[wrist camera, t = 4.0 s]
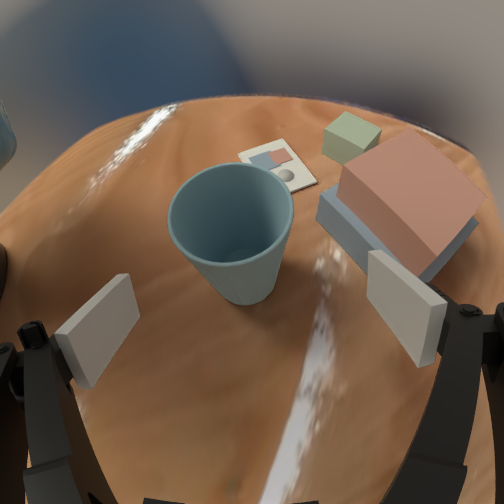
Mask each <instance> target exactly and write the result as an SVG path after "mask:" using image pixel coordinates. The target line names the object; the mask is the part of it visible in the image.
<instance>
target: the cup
mask: <svg viewBox="0 0 504 504" xmlns="http://www.w3.org/2000/svg"><path fill="white" fill-rule="evenodd" d="M293 217H294V203H293V198H292V195H291V193H290V191H289V189H288V187H287V186H286V184H285V183H284V182H283V181H282V179H281V178H279V177H278V176H277V175H276V174H274V173H273V172H271V171H270V170H268V169H266V168H263V167H261V166H258V165H255V164H250V163H241V162H232V163H224V164H219V165H215V166H212V167H209V168H207V169H205V170H202V171H200V172H199V173H197V174H195V175H194V176H192V177H191V178H190V179H188V180H187V181H186V182H185V183H184V184H183V185H182V186H181V187H180V188H179V190H178V191H177V192H176V194H175V195H174V197H173V199H172V201H171V204H170V206H169V210H168V216H167V225H168V230H169V234H170V236H171V239H172V241H173V242H174V244H175V245H176V247H177V248H178V249H179V250H180V251H181V252H182V254H183V255H184V256H185V257H186V258H187V259H188V260H189V261H190V262H191V263H192V264H193V265H194V267H195V268H196V269H197V270H198V271H199V272H200V273H201V274H202V275H203V276H204V277H205V279H206V280H207V281H208V282H209V283H210V284H211V285H212V286H213V287H214V288H215V289H216V290H217V291H218V292H219V293H220V294H221V295H222V296H223V297H224V298H225V299H227V300H228V301H230V302H232V303H234V304H237V305H252V304H255V303H258V302H260V301H262V300H264V299H265V298H266V297H267V296H268V295H269V294H270V293H271V292H272V290H273V288H274V286H275V282H276V279H277V275H278V272H279V268H280V264H281V261H282V257H283V253H284V249H285V246H286V243H287V240H288V237H289V233H290V229H291V225H292V222H293Z"/></svg>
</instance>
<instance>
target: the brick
mask: <svg viewBox="0 0 504 504" xmlns="http://www.w3.org/2000/svg"><path fill="white" fill-rule="evenodd" d="M381 131H382V129H380V128H379V127H377V126H375V125H373V124H371V123H369V122H367V121H365V120H363V119H361V118H359V117H357V116H355V115H353V114H350V113H348V112H346V111H345V112H344V113H343V114H342V115H340V116H339V117H338V118H337V119H336V120H335V121H333V122H332V123H331V124H330V125H329V126H327V127H326V128H325V130H324V138H323V146H322V154H323V155H325V156H327V157H329V158H331V159H332V160H334V161H336V162H338V163H340V164H341V165H343V164H345V163H347V162H349V161H350V160H352V159H354V158H356V157H358V156H359V155H361V154H363V153H365V152H367V151H368V150H370V149H372V148H374V147H376V146H377V145H378V141H379V138H380V134H381Z"/></svg>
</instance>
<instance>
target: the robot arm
mask: <svg viewBox="0 0 504 504" xmlns="http://www.w3.org/2000/svg"><path fill="white" fill-rule="evenodd" d="M16 148H17V141H16V137H15V134H14V131H13V128H12V126H11V123H10V120H9V118H8V115H7V113H6V110H5V108H4V106H3V103H2V101H1V98H0V171H1V170H2V169H3V167H4V166H5V165H6V164H7V163H8V162H9V161H10V160H11V159H12V158H13V156H14V155H15V152H16ZM6 271H7V258H6V252H5V249H4V247H3V246H2V244H1V243H0V298H1V295H2V292H3V288H4V283H5V278H6ZM367 299H368V300H369V301H370V303H371V304H372V305H373V307H374V308H375V309H376V311H377V312H378V313H379V315H380V316H381V317H382V319H383V320H384V321H385V323H386V324H387V325H388V327H389V328H390V329H391V331H392V332H393V333H394V335H395V336H396V338H397V339H398V340H399V342H400V343H401V345H402V346H403V347H404V349H405V350H406V352H407V353H408V354H409V356H410V357H411V359H412V360H413V362H414V363H415V364H416V366H417V367H418V368H420V367H424V366H427V365H431V364H434V360H435V357H436V353H437V352H438V353H439V354H440V355H441V356H442V358H441V361H440V365H439V368H438V371H437V374H436V378H435V382H434V385H433V388H432V391H431V394H430V397H429V400H428V402H427V405H426V408H425V411H424V413H423V416H422V418H421V421H420V424H419V426H418V428H417V431H416V433H415V436H414V438H413V440H412V442H411V445H410V447H409V449H408V451H407V453H406V456H405V458H404V460H403V462H402V464H401V466H400V468H399V470H398V472H397V474H396V475H395V477H394V479H393V481H392V483H391V485H390V487H389V488H388V490H387V492H386V494H385V495H384V497H383V499H382V500H381V502H380V504H457V502H458V499H459V496H460V493H461V490H462V487H463V484H464V481H465V478H466V474H467V466H464V465H463V463H464V458H465V455H466V451H467V447H468V443H469V439H470V435H471V430H472V425H473V420H474V415H475V410H476V404H477V397H478V390H479V382H480V373H481V367H482V371H483V376H484V380H485V385H486V390H487V396H488V401H489V408H490V414H491V421H492V430H493V439H494V451H495V473H496V492H495V504H504V302H502V303H500V304H498V305H497V308H496V312H495V314H493V315H483V312H482V310H481V309H479V308H478V307H476V306H474V305H470V304H460V305H458V304H457V303H455V302H454V301H453V300H452V299H450V298H449V297H448V296H447V295H446V296H445V294H444V293H443V292H442V291H441V290H439V289H438V288H437V287H435V286H434V285H431V284H429V283H427V282H424V283H423V282H422V281H421V280H420V279H418V278H417V277H416V276H415V275H413V274H412V273H411V272H410V271H408V270H407V269H406V268H404V267H403V266H402V265H401V264H399V263H398V262H397V261H395V260H394V259H393V258H391V257H390V256H389V255H387V254H386V253H385V252H383V251H382V250H372V251H368V276H367ZM139 318H140V313H139V310H138V306H137V302H136V298H135V295H134V291H133V287H132V283H131V279H130V275H129V273H125V274H117V275H116V276H115V277H114V278H113V279H112V280H110V281H109V282H108V283H107V284H106V285H105V286H104V287H103V288H102V289H100V290H99V291H98V292H97V293H96V294H95V295H94V296H93V297H92V298H91V299H89V300H88V301H87V302H86V303H85V304H84V305H83V306H82V307H81V308H80V309H79V310H78V311H77V312H75V313H74V314H73V315H72V316H71V317H70V318H69V319H68V320H67V321H66V322H65V323H64V324H63V325H62V326H61V327H60V328H59V329H58V330H57V331H56V332H55V333H54V334H53V335H52V336H51V337H50V338H48V336H47V333H46V331H45V328H44V326H43V323H42V321H31V322H28V323H26V324H24V325H23V326H21V327H20V328H19V329H18V331H17V333H18V336H19V338H20V340H21V343H22V345H23V347H24V349H25V350H24V351H21V352H17V351H16V349H15V346H14V344H13V343H10V342H8V343H2V344H0V504H25V491H26V496H27V500H28V504H118V502H117V501H116V499H115V497H114V495H113V493H112V491H111V489H110V487H109V485H108V483H107V481H106V479H105V476H104V474H103V472H102V470H101V467H100V465H99V463H98V461H97V458H96V456H95V453H94V451H93V448H92V446H91V443H90V440H89V438H88V435H87V432H86V430H85V427H84V424H83V421H82V418H81V415H80V412H79V408H78V405H77V402H76V399H75V395H74V392H73V388H72V386H71V385H70V383H69V382H70V380H71V379H72V378H74V379H75V381H76V383H77V385H78V387H79V388H85V389H93V387H94V386H95V384H96V383H97V381H98V380H99V378H100V376H101V375H102V373H103V372H104V370H105V369H106V367H107V366H108V364H109V363H110V361H111V359H112V358H113V356H114V355H115V353H116V352H117V350H118V349H119V347H120V346H121V344H122V343H123V341H124V340H125V338H126V337H127V336H128V334H129V333H130V331H131V330H132V328H133V327H134V325H135V324H136V322H137V321H138V320H139ZM10 389H11V390H10ZM11 391H12V392H11ZM28 449H29V454H30V460H31V466H32V467H30V468H27V458H28ZM143 504H184V503H177V502H169V501H162V500H156V499H150V498H144V501H143ZM294 504H319V502H318V501H311V502H303V503H294Z"/></svg>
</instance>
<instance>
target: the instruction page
mask: <svg viewBox="0 0 504 504" xmlns="http://www.w3.org/2000/svg"><path fill="white" fill-rule="evenodd" d="M238 157H239V158H240V160H241V161H242V163H250V164H255V165H258V166H261V167H263V168H266V169H268V170H270V171H271V172H273V173H274V174H276V175H277V176H278V177H279V178H281V179H282V181H283V182H284V183H285V184H286V186H287V187H288V189H289V191H290V193H292V192H295V191H297V190H300V189H302V188H305V187H308V186H310V185H313V184H316V183H317V180H316V179H315V178H314V177H313V175H312V174H311V173H310V171H309V170H308V169H307V168H306V166H305V165H304V164H303V163H302V161H301V160H300V159H299V158H298V156H297V155H296V154H295V153H294V152H293V150H292V149H291V148H290V147H289V146H288V144H287V143H286V142H285V141H284V140H283V139H279V140H276V141H273V142H270V143H267V144H264V145H261V146H258V147H255V148H252V149H250V150H247V151H244V152H241V153H238Z"/></svg>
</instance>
